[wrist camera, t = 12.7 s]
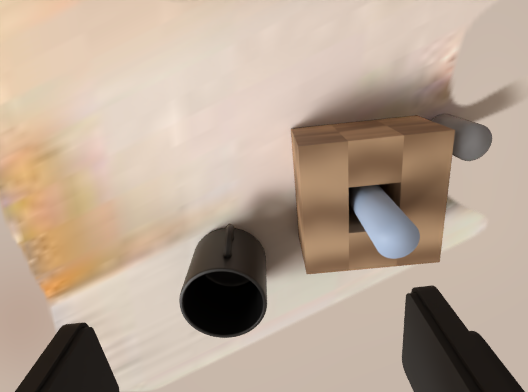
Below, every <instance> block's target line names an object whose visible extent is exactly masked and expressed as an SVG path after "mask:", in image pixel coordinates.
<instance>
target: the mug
mask: <svg viewBox="0 0 528 392" xmlns="http://www.w3.org/2000/svg"><path fill="white" fill-rule="evenodd" d="M180 308H181V312H182V314H183V316H184V318H185V319H186V320H187V322H188V323H189V324H190V325H191V326H192V327H194V328H195V329H196V330H198V331H200V332H202V333H204V334H207V335H210V336H214V337H221V338H229V337H236V336H240V335H243V334H245V333H247V332H249V331H251V330H252V329H254V328H255V327H256V326H257V325H258V324H259V323H260V322H261V320H262V319H263V317H264V315H265V312H266V308H267V286H266V256H265V252H264V249H263V247H262V245H261V244H260V243H259V241H258V240H257V239H256V238H255V237H253V236H252V235H251V234H249V233H247V232H245V231H243V230H239V229H234V227H233V225H232V224H229V225H228V226H227V227H226V228H224V229H219V230H216V231H213V232H211V233H209V234H208V235H206V236H205V237H204V238H203V239H201V241H200V242H199V243H198V245H197V247H196V249H195V252H194V255H193V258H192V261H191V264H190V267H189V270H188V273H187V276H186V278H185V281H184V284H183V287H182V290H181V294H180Z"/></svg>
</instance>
